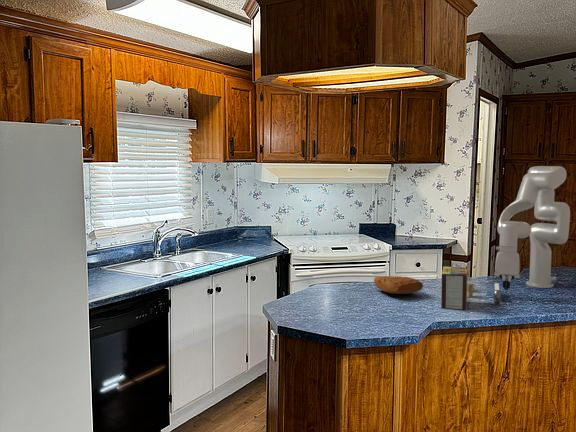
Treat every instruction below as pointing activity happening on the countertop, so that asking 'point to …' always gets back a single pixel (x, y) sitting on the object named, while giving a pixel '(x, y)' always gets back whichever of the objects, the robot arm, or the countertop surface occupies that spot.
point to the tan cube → (471, 283)
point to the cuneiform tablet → (398, 284)
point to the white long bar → (496, 286)
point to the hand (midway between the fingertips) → (506, 289)
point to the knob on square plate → (497, 299)
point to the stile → (469, 290)
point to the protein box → (454, 288)
